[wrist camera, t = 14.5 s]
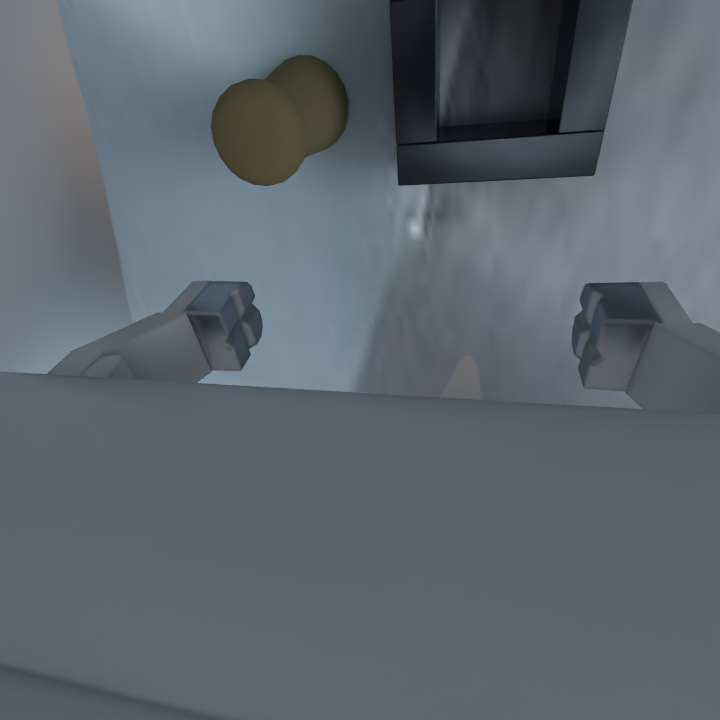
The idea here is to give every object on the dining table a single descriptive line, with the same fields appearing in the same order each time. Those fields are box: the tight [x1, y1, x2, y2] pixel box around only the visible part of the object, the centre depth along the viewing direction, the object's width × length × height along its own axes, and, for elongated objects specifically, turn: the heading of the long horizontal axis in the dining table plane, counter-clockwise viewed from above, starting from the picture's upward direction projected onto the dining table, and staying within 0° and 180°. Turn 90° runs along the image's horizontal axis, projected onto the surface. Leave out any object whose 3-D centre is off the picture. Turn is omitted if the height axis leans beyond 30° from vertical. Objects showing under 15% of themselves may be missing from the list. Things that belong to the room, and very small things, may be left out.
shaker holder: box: [390, 0, 633, 186], centre depth 25 cm, size 12×12×4 cm
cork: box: [211, 55, 348, 186], centre depth 27 cm, size 6×6×11 cm
